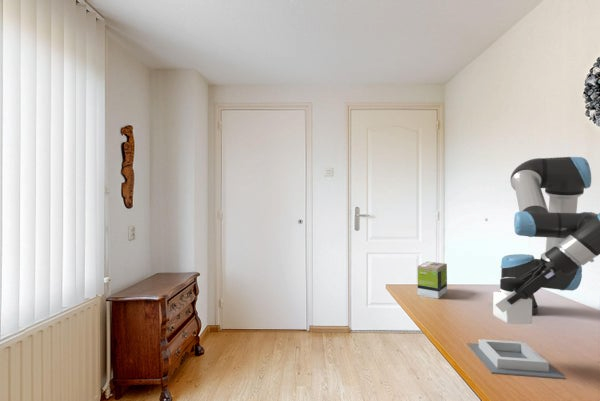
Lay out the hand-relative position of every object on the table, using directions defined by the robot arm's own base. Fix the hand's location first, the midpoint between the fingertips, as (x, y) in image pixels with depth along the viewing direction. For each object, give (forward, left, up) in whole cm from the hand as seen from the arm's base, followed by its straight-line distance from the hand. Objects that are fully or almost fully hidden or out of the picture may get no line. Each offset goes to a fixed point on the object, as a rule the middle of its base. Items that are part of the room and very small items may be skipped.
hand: (499, 303), depth 98 cm
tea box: (+2, -66, -16) cm, 68 cm away
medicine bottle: (-3, +1, -4) cm, 5 cm away
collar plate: (-3, +1, -17) cm, 17 cm away
